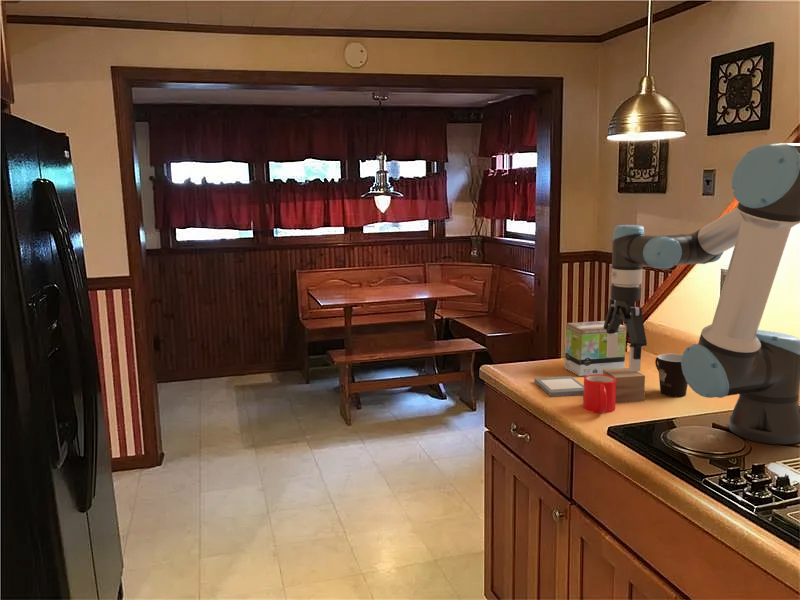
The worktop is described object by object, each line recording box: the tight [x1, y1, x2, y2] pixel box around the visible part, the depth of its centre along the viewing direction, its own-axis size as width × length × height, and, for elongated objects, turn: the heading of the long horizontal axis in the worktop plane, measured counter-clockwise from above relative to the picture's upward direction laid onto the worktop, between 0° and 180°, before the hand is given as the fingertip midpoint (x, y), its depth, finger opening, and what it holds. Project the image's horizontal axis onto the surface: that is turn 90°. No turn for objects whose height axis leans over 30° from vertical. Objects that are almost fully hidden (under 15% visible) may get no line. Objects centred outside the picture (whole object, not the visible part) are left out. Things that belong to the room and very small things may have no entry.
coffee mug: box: [654, 353, 689, 398], centre depth 180 cm, size 12×9×10 cm
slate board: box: [534, 375, 584, 398], centre depth 186 cm, size 14×11×1 cm
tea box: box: [564, 320, 627, 377], centre depth 202 cm, size 15×10×15 cm
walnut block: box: [602, 367, 646, 404], centre depth 177 cm, size 8×8×7 cm
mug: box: [582, 374, 617, 414], centre depth 167 cm, size 8×12×8 cm, turn 174°
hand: (622, 363), depth 176 cm, fingers open, 13 cm apart
